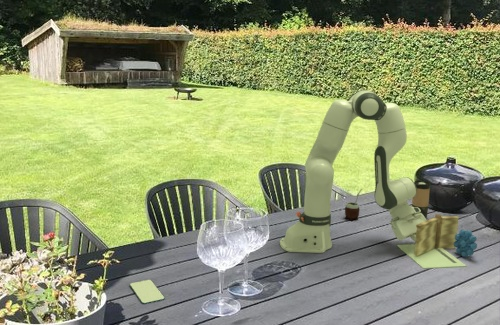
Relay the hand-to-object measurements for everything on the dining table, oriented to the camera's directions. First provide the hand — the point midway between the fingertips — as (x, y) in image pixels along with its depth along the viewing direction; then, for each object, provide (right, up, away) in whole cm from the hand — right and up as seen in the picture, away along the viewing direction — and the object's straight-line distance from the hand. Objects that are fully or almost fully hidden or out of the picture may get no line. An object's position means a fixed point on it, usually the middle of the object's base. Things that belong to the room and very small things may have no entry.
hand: (421, 243), depth 213 cm
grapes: (+18, -5, -2) cm, 18 cm away
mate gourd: (-20, +5, +44) cm, 48 cm away
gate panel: (+1, -3, 0) cm, 4 cm away
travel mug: (+13, +4, +42) cm, 44 cm away
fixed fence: (+12, -3, +7) cm, 14 cm away
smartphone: (-107, -11, -37) cm, 114 cm away
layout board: (+3, -5, -1) cm, 6 cm away
